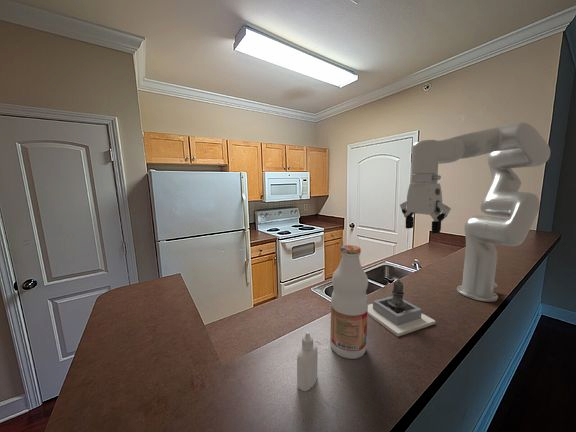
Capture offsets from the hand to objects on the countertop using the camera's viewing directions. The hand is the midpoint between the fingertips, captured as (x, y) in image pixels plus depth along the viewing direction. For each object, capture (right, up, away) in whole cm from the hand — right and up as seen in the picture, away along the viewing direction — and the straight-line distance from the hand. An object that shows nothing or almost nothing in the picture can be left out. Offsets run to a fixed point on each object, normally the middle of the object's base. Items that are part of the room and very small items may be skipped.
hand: (421, 230), depth 77 cm
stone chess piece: (-9, -28, -1) cm, 29 cm away
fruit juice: (-29, -31, -15) cm, 45 cm away
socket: (-9, -29, -1) cm, 30 cm away
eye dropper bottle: (-41, -33, -26) cm, 59 cm away
